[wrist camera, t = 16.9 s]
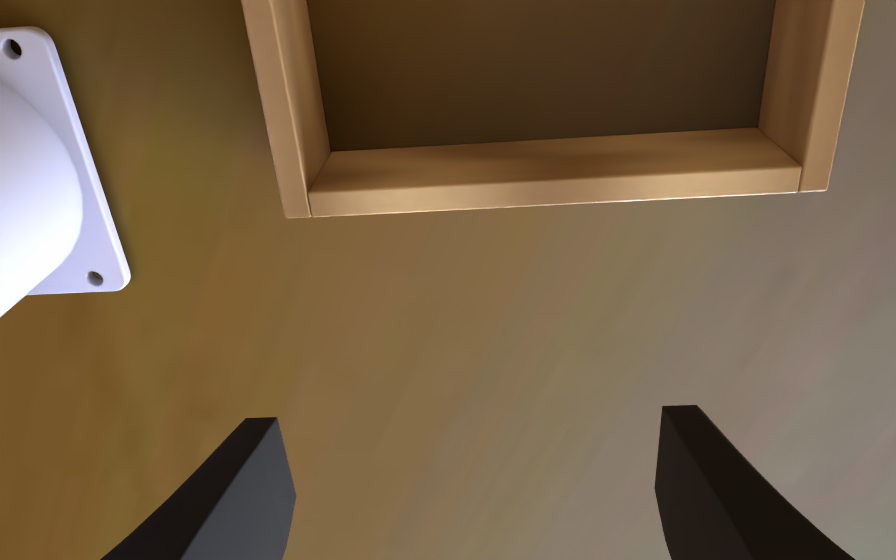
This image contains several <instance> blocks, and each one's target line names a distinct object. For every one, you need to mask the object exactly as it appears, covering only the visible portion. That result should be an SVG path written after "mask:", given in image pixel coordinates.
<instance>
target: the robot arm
mask: <svg viewBox="0 0 896 560" xmlns="http://www.w3.org/2000/svg"><path fill="white" fill-rule="evenodd" d="M11 39H12V40H14V41H16V42H17V43H18V44H19V46H20V47H21V51H22V54H21V56H19V55H17V54H16V53H15V52H14V51H13V50H12V48H11V44H10V41H11ZM93 271H94V272H97V273H99V274H100V275H101V276H102V278H103V280H101V279H98V278H96V277H95V276H94V274H93ZM130 278H131V275H130V270H129V267H128V264H127V261H126V258H125V255H124V252H123V249H122V246H121V243H120V240H119V237H118V234H117V231H116V228H115V225H114V222H113V219H112V216H111V213H110V210H109V207H108V204H107V201H106V198H105V195H104V192H103V189H102V186H101V183H100V180H99V177H98V174H97V171H96V168H95V165H94V162H93V159H92V156H91V153H90V150H89V147H88V144H87V141H86V138H85V135H84V132H83V129H82V126H81V123H80V120H79V117H78V114H77V111H76V108H75V105H74V102H73V99H72V96H71V93H70V90H69V87H68V84H67V81H66V78H65V75H64V71H63V68H62V65H61V62H60V59H59V56H58V53H57V50H56V47H55V44H54V42H53V40H52V39H51V37H50V36H49V35H48V34H47V33H46V32H45V31H44V30H42V29H40V28H38V27H34V26H24V27H10V28H0V317H1V316H2V315H3V314H4V313H6V312H7V311H8V310H9V309H10V308H11V307H12V306H14V305H15V304H16V303H17V302H18V301H19V300H20V299H22V298H23V297H24V296H25V295H34V294H57V293H80V292H103V291H117V290H121V289H122V288H124V287H125V286H126V285H127V283H128V282H129V280H130ZM655 492H656V497H657V502H658V507H659V512H660V517H661V522H662V527H663V531H664V536H665V540H666V544H667V547H668V550H669V553H670V556H671V559H672V560H855V559H854V558H852V557H851V556H850V555H849V554H847V553H846V552H845V551H844V550H842V549H841V548H840V547H839V546H837V545H836V544H835V543H834V542H832V541H831V540H830V539H829V538H828V537H827V536H826V535H824V534H823V533H822V532H821V531H820V530H819V529H817V528H816V527H815V526H814V525H813V524H812V523H811V522H810V521H809V520H808V519H806V518H805V517H804V516H803V515H802V514H801V513H800V512H799V511H798V510H797V509H796V508H794V507H793V506H792V505H791V504H790V503H789V502H788V501H787V500H786V499H785V498H784V497H783V496H782V495H781V494H780V493H779V492H778V491H777V490H776V489H775V488H774V487H773V486H772V485H771V484H770V483H769V482H768V481H767V480H766V479H765V478H764V477H763V476H762V475H761V474H760V473H759V472H758V471H757V470H756V469H755V468H754V467H753V466H752V465H751V464H750V463H749V462H748V461H747V459H746V458H745V457H744V456H743V455H742V454H741V453H740V452H739V451H738V450H737V449H736V448H735V447H734V445H733V444H732V443H731V442H730V441H729V440H728V439H727V438H726V437H725V436H724V434H723V433H722V432H721V431H720V430H719V429H718V428H717V427H716V425H715V424H714V423H713V422H712V421H711V420H710V419H709V417H708V416H707V415H706V414H705V413H704V412H703V411H702V410H701V409H700V408H699V407H698V406H697V405H683V406H662V416H661V426H660V437H659V448H658V458H657V469H656V480H655ZM295 500H296V492H295V488H294V484H293V480H292V476H291V472H290V468H289V464H288V460H287V456H286V452H285V448H284V444H283V439H282V435H281V431H280V427H279V423H278V419H277V417H268V418H246V419H245V420H244V421H243V422H242V423H241V424H240V425H239V426H238V427H237V428H236V429H235V430H234V431H233V432H232V433H231V434H230V435H229V436H228V437H227V438H226V439H225V440H224V441H223V443H222V444H221V445H220V446H219V447H218V448H217V449H216V450H215V451H214V452H213V453H212V454H211V455H210V456H209V457H208V458H207V459H206V460H205V462H204V463H203V464H202V465H201V466H200V467H199V468H198V469H197V470H196V471H195V472H194V473H193V474H192V475H191V476H190V477H189V478H188V479H187V480H186V481H185V482H184V483H183V484H182V485H181V486H180V487H179V488H178V489H177V490H176V491H175V492H174V493H173V494H172V495H171V496H170V497H169V498H168V499H167V500H166V501H165V502H164V503H163V504H162V505H161V506H160V507H159V508H158V509H157V510H156V511H154V512H153V513H152V514H151V515H150V516H149V517H148V518H147V519H146V520H145V521H144V522H143V523H142V524H141V525H139V526H138V527H137V528H136V529H135V530H134V531H133V532H132V533H131V534H130V535H129V536H128V537H126V538H125V539H124V540H123V541H122V542H121V543H120V544H118V545H117V546H116V547H115V548H114V549H112V550H111V551H110V552H109V553H108V554H106V555H105V556H104V557H103V558H101V559H100V560H282V559H283V555H284V552H285V549H286V546H287V541H288V536H289V531H290V527H291V522H292V516H293V511H294V505H295Z"/></svg>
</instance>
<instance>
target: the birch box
mask: <svg viewBox="0 0 896 560" xmlns="http://www.w3.org/2000/svg"><path fill="white" fill-rule="evenodd" d="M241 4H242V9H243V13H244V18H245V23H246V28H247V33H248V38H249V43H250V48H251V53H252V58H253V63H254V68H255V73H256V78H257V83H258V88H259V93H260V97H261V102H262V107H263V112H264V117H265V122H266V127H267V132H268V137H269V142H270V147H271V152H272V157H273V162H274V167H275V172H276V176H277V181H278V186H279V191H280V196H281V201H282V206H283V211H284V216H285V218H305V217H311V215H312V217H326V216H346V215H366V214H385V213H405V212H425V211H445V210H465V209H484V208H504V207H524V206H544V205H564V204H583V203H603V202H623V201H643V200H663V199H682V198H702V197H722V196H742V195H762V194H781V193H796V192H797V191H798V192H816V191H826V190H827V189H828V184H829V179H830V174H831V169H832V164H833V159H834V154H835V149H836V144H837V139H838V134H839V129H840V124H841V119H842V114H843V109H844V104H845V99H846V94H847V89H848V84H849V79H850V74H851V69H852V64H853V59H854V54H855V49H856V44H857V39H858V34H859V29H860V24H861V19H862V14H863V9H864V4H865V0H776V4H775V11H774V18H773V25H772V32H771V39H770V46H769V53H768V60H767V67H766V74H765V81H764V88H763V95H762V102H761V109H760V116H759V123H758V128H756V127H755V128H737V129H720V130H703V131H685V132H668V133H650V134H633V135H616V136H598V137H581V138H563V139H546V140H529V141H511V142H494V143H476V144H459V145H442V146H424V147H407V148H389V149H372V150H355V151H337V152H331V151H330V145H329V139H328V133H327V127H326V120H325V114H324V108H323V102H322V95H321V89H320V83H319V77H318V70H317V64H316V58H315V52H314V45H313V39H312V33H311V27H310V20H309V14H308V8H307V2H306V0H241Z"/></svg>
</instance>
